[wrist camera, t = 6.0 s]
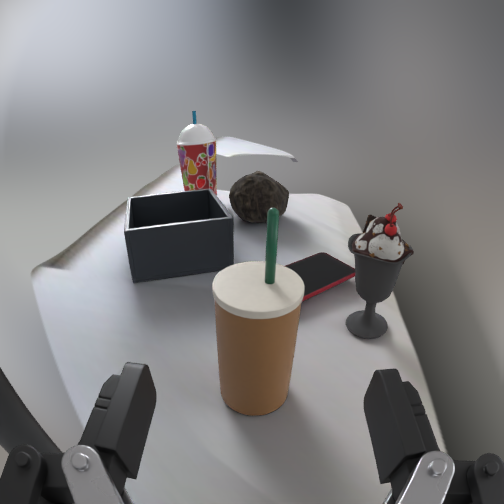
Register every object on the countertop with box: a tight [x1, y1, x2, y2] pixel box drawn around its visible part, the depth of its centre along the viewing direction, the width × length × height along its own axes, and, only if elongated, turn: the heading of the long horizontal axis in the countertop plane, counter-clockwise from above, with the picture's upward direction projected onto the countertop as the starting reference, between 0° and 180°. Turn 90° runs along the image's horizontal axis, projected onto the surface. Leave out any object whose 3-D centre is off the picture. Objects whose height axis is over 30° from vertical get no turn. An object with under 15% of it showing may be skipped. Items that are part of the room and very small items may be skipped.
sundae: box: [346, 203, 413, 339], centre depth 31 cm, size 7×7×15 cm
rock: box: [229, 171, 289, 223], centre depth 60 cm, size 10×11×10 cm
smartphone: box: [285, 253, 355, 301], centre depth 42 cm, size 7×1×15 cm
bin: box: [124, 188, 234, 283], centre depth 48 cm, size 14×14×8 cm
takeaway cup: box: [212, 208, 304, 416], centre depth 23 cm, size 6×6×17 cm
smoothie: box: [176, 111, 217, 195], centre depth 66 cm, size 8×8×20 cm
